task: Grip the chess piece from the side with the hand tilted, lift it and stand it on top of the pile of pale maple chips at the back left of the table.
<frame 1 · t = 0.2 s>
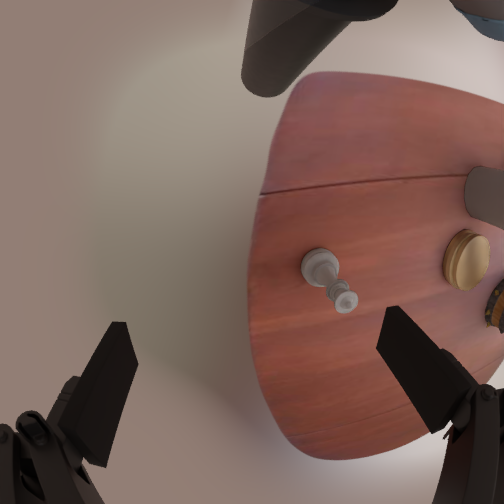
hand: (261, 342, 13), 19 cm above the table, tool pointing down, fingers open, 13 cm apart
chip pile: (461, 257, 34), on the table
mug: (500, 291, 39), on the table
chess piece: (317, 264, 33), on the table
cup: (478, 192, 31), on the table
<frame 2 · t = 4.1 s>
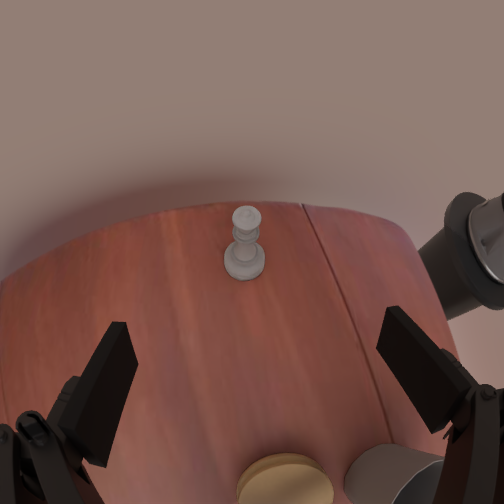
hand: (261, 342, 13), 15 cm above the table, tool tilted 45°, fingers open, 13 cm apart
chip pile: (282, 489, 20), on the table
chess piece: (244, 263, 31), on the table
cup: (377, 474, 20), on the table
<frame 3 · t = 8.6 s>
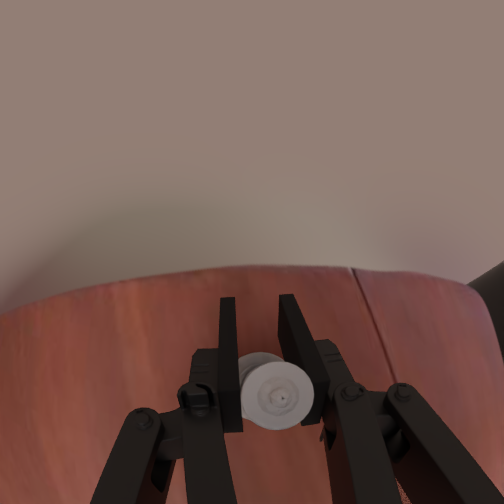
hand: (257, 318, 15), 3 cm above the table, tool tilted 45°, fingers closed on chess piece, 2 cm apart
chess piece: (258, 386, 16), on the table, touching gripper
when the fingers open (6 cm above the table, at t = 16.5 s): chess piece stays where it is, resting on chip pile.
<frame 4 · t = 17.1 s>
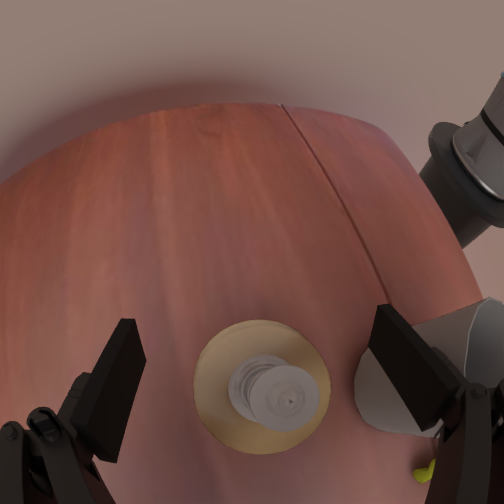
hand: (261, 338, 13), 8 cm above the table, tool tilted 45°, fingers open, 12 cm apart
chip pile: (259, 386, 19), on the table
chess piece: (262, 388, 16), point 3 cm above the table, touching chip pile
cup: (393, 381, 18), point 1 cm above the table, touching gripper
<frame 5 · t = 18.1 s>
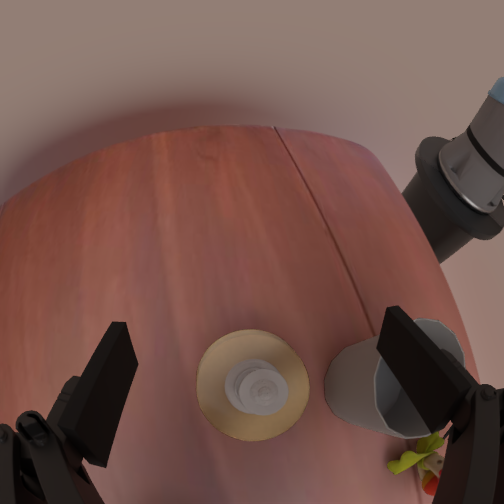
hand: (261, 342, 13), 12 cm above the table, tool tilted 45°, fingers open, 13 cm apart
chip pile: (251, 384, 23), on the table
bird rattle: (414, 463, 18), on the table
chess piece: (253, 386, 20), point 3 cm above the table, touching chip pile
cup: (363, 383, 23), on the table
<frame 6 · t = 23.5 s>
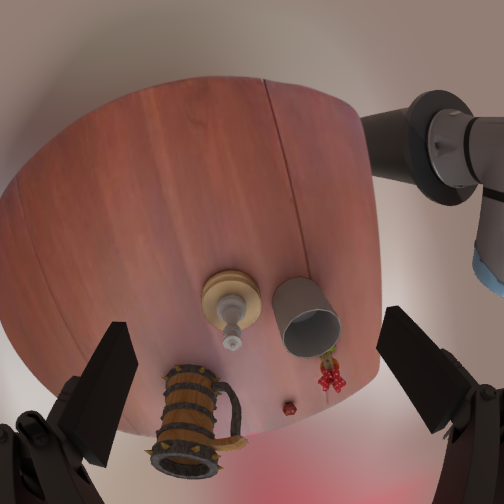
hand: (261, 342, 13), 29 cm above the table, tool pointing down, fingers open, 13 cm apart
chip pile: (231, 296, 44), on the table
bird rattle: (322, 348, 50), on the table
mug: (201, 379, 50), on the table
chess piece: (231, 305, 41), point 3 cm above the table, touching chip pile
cup: (296, 299, 45), on the table
die: (288, 403, 54), on the table
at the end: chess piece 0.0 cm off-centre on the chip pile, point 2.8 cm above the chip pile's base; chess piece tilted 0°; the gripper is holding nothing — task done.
